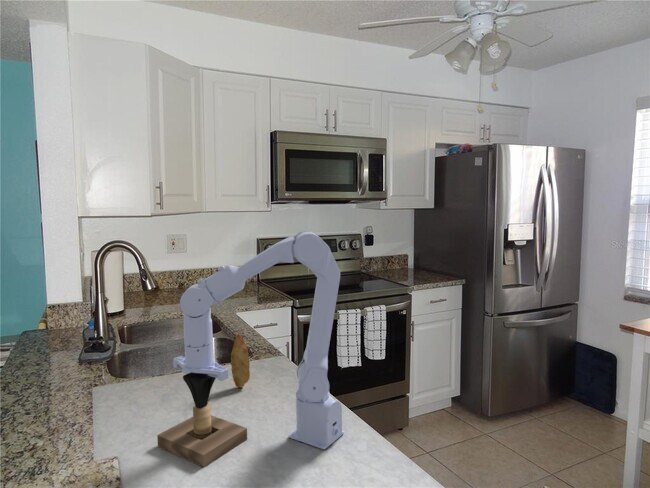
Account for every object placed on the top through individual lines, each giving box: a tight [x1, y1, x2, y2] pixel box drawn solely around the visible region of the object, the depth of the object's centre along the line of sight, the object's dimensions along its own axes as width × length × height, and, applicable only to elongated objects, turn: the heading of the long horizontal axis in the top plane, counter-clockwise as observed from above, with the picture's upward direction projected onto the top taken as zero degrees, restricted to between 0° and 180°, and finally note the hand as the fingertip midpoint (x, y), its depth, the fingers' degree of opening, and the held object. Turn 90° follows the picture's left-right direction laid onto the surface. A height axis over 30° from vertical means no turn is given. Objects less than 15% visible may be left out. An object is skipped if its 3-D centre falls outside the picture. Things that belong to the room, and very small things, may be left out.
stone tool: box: [230, 332, 251, 388], centre depth 123 cm, size 5×2×15 cm, turn 93°
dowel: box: [192, 402, 212, 440], centre depth 95 cm, size 4×4×8 cm
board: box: [156, 414, 248, 468], centre depth 95 cm, size 14×12×2 cm
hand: (201, 406), depth 95 cm, fingers closed
